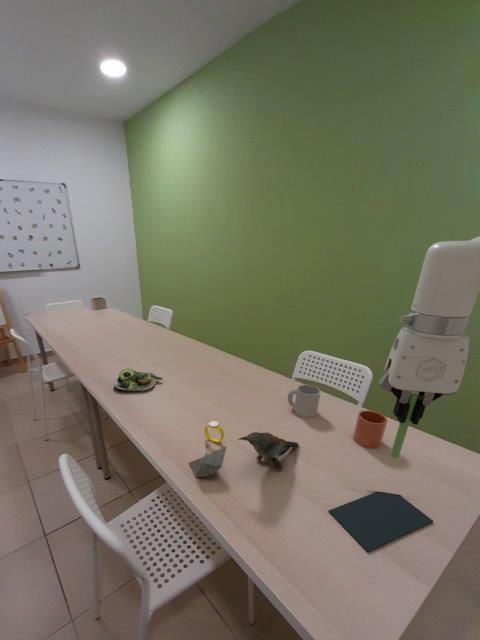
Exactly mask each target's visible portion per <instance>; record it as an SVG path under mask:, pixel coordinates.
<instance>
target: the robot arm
mask: <svg viewBox="0 0 480 640" xmlns="http://www.w3.org/2000/svg"><path fill="white" fill-rule="evenodd" d="M479 293H480V235H479V236H477V237H474V238H472V239H469V240H444V241H443V240H442V241H438V242H434V243H432V244H431V245H430V246H429V247H428V249H427V250H426V254H425V257H424V259H423V263H422V267H421V270H420V275H419V278H418V282H417V285H416V289H415V292H414V296H413V299H412V304H411V308H410V309H409V310H408V313H407V314H400V315H399V316H398V323H399V324H403V325H405V326H404V327H401V329H400V330H399V332H398V334H397V336H396V337H395V339H394V342H393V344H392V346H391V348H390V351H389V354H388V356H387V359H386V362H385V367H384V370H383V375H382V376H381V378H380V379H379V380H378V382H377V385H378V387H379V388H380V389H382V390H385V391H387V392H390V393H392V394H393V396H394V397H395V398H396V401H395V404H394V407H393V411H392V412H393V415H394V416H395V418H396V419H397V421H398V422H399V424H400V423H405V421H406V418H407V415H408V412H409V408H410V404H409V403H408V401H409V400H408V399H409V395H410V392H417V393H418V394H419V395H418V398H417V401H416V404H415V407H414V410H413V413H412V417H411V420H410V422H411V424H412V425H415V426H416V425H418V424H419V422H420V419H421V420H422V418H423V416H424V414H425V413H424V412H425V410H426V407H429V406H430V405H431V404H432V402H434V401H436V400H437V399H440V398H441V397H447V396H453V395H456V394H457V391H458V389H459V388H460V386H461V383H462V381H463V377H464V375H465V374H464V373H465V370H466V367H467V366H466V365H467V361H468V355H469V348H470V335H469V334H467V333H465V331H466V328H467V325H468V323H469V320H470V317H471V315H472V311H473V310H474V305H475V304H476V301H477V297H478V294H479Z"/></svg>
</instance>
